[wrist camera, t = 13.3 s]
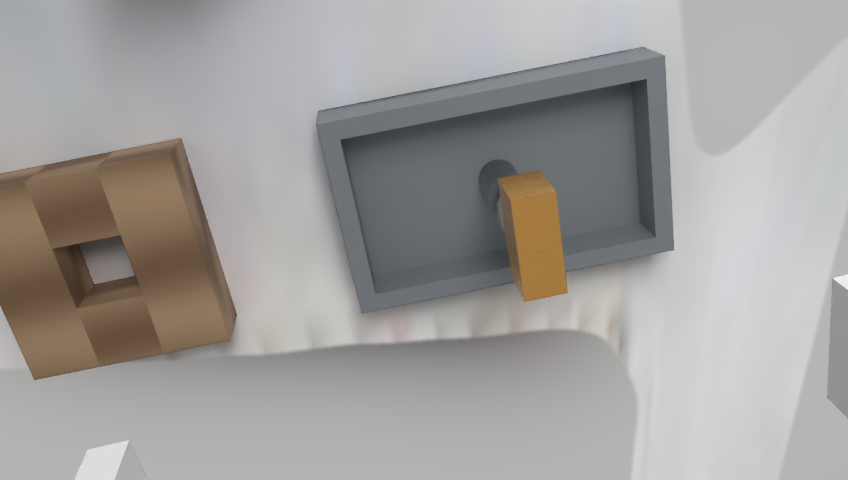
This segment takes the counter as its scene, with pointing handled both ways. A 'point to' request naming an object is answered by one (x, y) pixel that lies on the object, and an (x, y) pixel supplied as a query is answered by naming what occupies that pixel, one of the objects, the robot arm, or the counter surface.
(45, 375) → the block
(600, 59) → the parts tray
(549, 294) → the tall wooden block
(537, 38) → the counter surface
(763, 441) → the counter surface
